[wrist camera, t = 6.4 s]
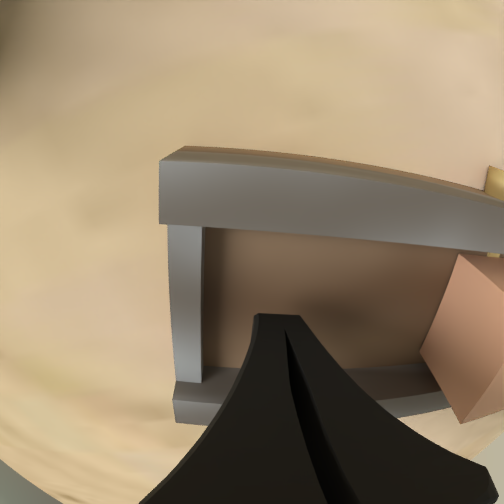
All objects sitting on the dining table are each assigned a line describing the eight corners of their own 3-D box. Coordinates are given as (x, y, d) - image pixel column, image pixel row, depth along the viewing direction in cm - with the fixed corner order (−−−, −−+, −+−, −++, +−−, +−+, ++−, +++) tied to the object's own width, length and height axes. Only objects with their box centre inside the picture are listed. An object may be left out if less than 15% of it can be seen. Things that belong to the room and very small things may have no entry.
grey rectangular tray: (530, 354, 17) (552, 381, 13) (186, 380, 15) (178, 436, 12) (590, 210, 11) (621, 229, 8) (187, 111, 10) (161, 111, 7)
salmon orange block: (486, 343, 13) (528, 398, 9) (419, 351, 13) (460, 424, 8) (524, 260, 11) (582, 309, 7) (458, 253, 11) (529, 316, 6)
